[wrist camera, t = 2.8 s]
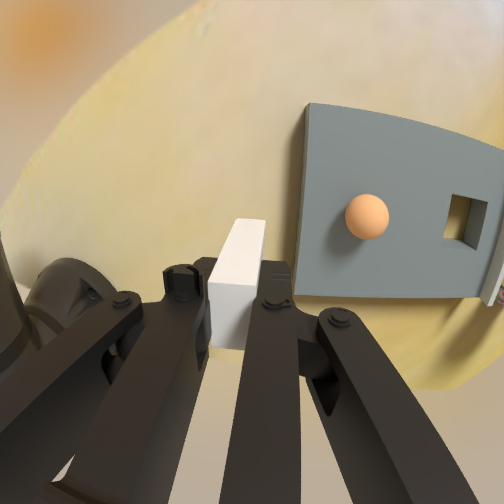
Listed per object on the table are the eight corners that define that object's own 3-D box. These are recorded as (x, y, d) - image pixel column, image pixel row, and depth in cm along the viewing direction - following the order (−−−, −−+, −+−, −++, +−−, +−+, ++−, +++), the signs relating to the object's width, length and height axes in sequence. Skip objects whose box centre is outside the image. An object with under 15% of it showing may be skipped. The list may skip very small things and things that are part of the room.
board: (292, 279, 29) (295, 306, 25) (305, 106, 22) (313, 99, 18) (472, 285, 28) (492, 305, 23) (502, 152, 21) (530, 160, 16)
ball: (338, 229, 24) (348, 245, 20) (343, 187, 22) (354, 197, 19) (376, 232, 23) (390, 248, 20) (382, 192, 22) (399, 203, 19)
